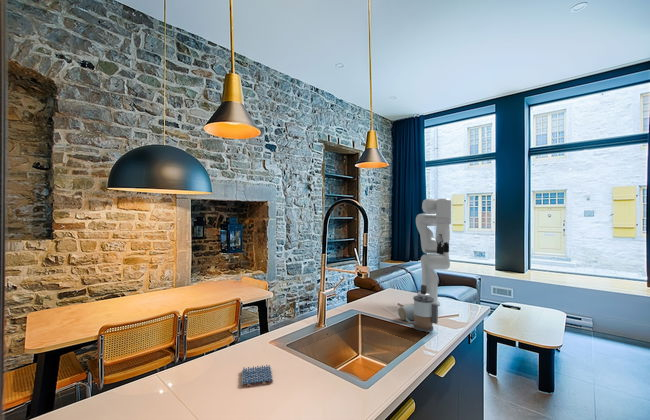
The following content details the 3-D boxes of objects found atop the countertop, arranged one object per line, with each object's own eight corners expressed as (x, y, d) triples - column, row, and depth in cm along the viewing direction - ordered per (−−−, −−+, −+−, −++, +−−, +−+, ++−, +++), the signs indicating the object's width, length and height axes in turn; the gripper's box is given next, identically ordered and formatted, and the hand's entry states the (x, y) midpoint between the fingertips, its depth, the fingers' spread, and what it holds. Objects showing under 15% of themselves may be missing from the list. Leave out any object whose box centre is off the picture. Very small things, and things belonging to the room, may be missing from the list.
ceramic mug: (397, 317, 161) (397, 303, 161) (410, 316, 163) (410, 302, 163) (407, 325, 151) (408, 310, 151) (421, 323, 153) (422, 309, 153)
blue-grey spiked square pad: (240, 390, 94) (241, 383, 94) (241, 372, 104) (241, 367, 104) (273, 385, 97) (274, 379, 97) (271, 369, 107) (271, 363, 107)
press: (417, 322, 154) (418, 294, 154) (440, 328, 147) (440, 298, 147) (410, 328, 146) (410, 298, 147) (433, 334, 139) (433, 302, 139)
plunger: (419, 308, 151) (420, 283, 152) (431, 311, 148) (431, 285, 148) (415, 311, 147) (415, 285, 147) (427, 314, 143) (427, 287, 143)
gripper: (441, 221, 168) (441, 251, 167) (430, 221, 154) (430, 254, 154) (455, 221, 163) (454, 252, 163) (445, 221, 149) (445, 255, 149)
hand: (443, 253), depth 158 cm, fingers open, 9 cm apart
